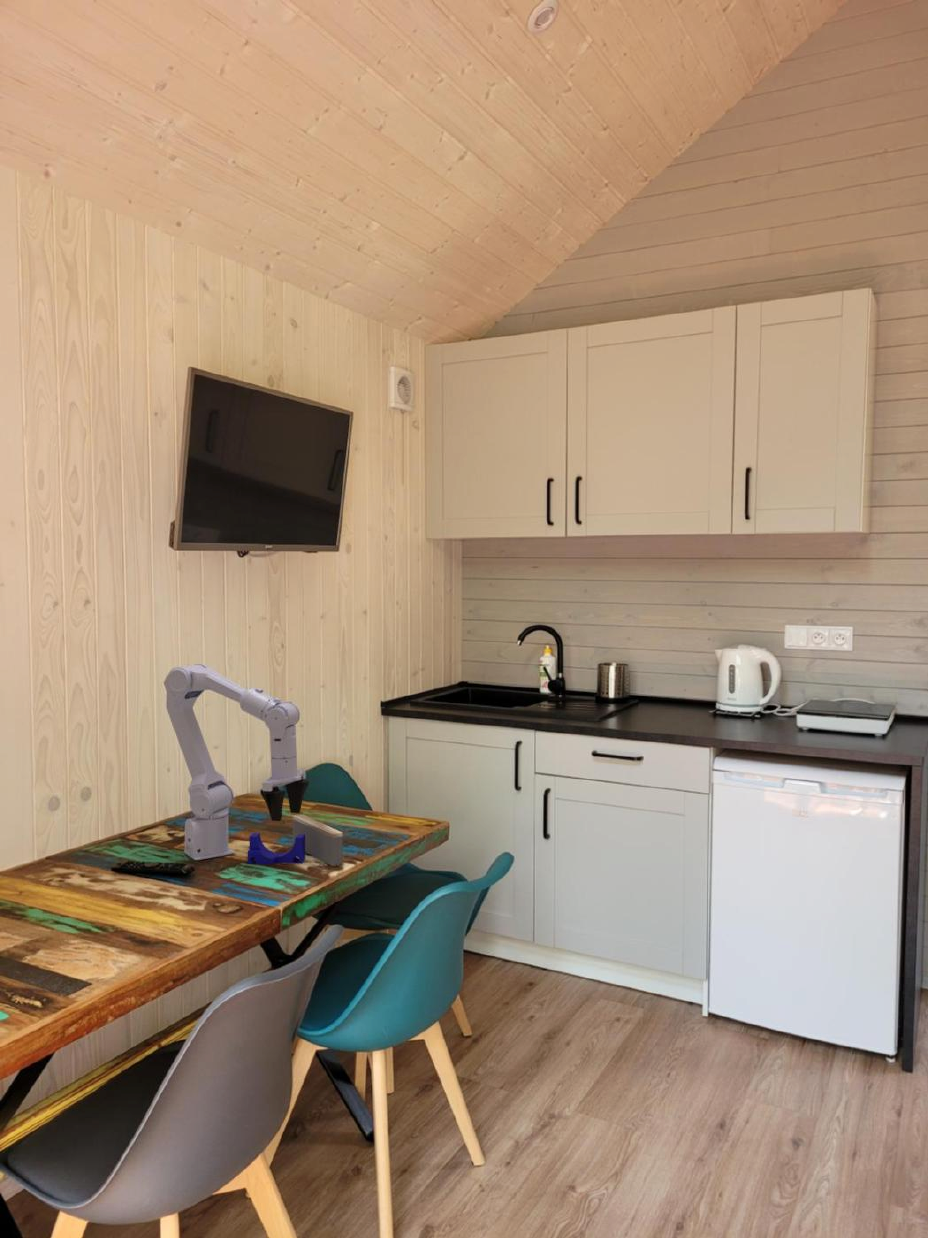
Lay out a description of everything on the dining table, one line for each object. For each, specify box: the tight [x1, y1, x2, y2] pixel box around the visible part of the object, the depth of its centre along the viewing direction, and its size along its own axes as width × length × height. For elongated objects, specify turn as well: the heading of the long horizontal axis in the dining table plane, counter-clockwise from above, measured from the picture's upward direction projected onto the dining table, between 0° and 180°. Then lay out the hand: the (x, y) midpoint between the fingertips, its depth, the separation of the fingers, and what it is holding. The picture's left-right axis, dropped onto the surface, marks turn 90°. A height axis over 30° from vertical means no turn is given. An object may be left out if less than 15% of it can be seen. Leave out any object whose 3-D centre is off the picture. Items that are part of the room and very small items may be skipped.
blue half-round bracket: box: [247, 832, 306, 866], centre depth 211 cm, size 12×4×6 cm, turn 86°
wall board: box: [292, 813, 344, 867], centre depth 217 cm, size 2×20×7 cm, turn 36°
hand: (285, 816), depth 212 cm, fingers open, 7 cm apart
